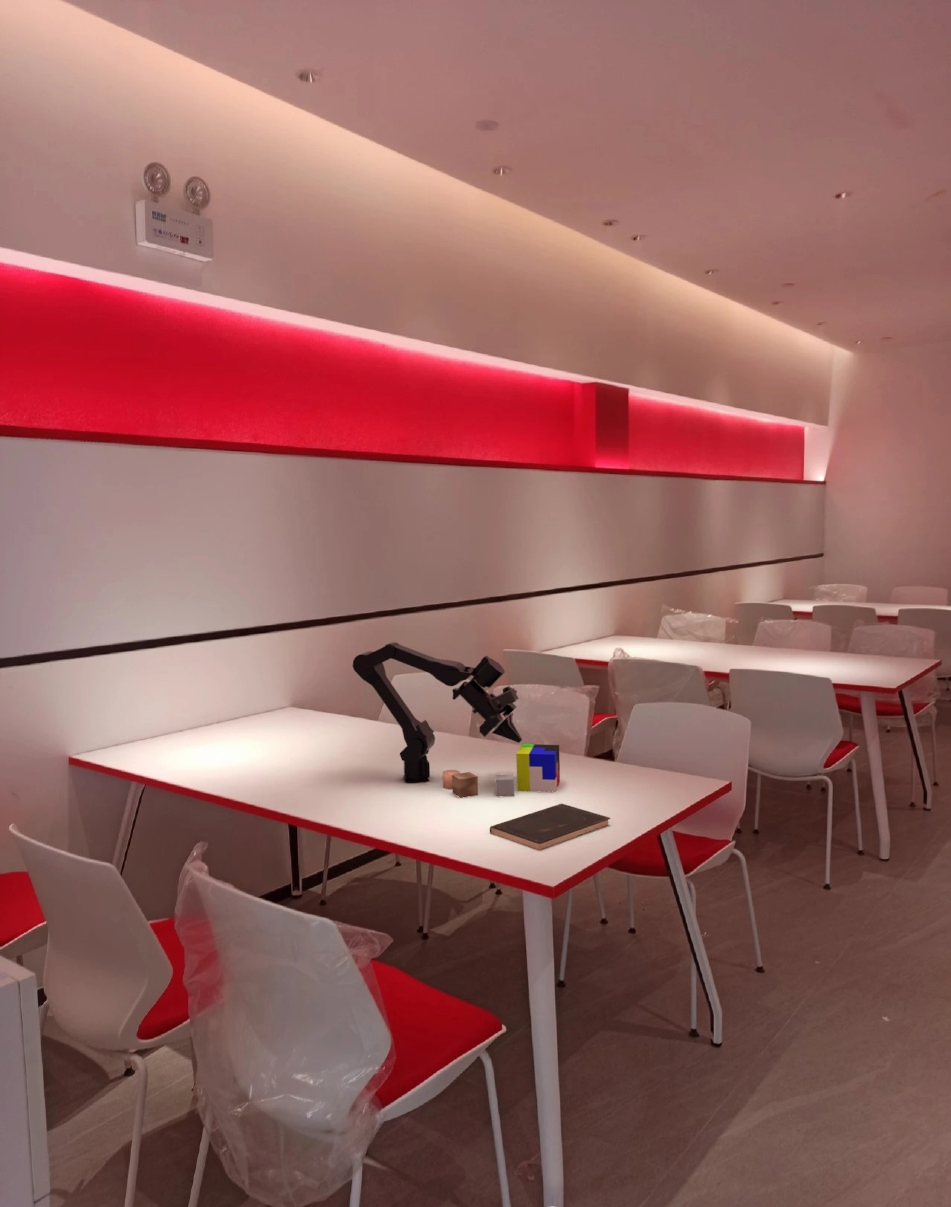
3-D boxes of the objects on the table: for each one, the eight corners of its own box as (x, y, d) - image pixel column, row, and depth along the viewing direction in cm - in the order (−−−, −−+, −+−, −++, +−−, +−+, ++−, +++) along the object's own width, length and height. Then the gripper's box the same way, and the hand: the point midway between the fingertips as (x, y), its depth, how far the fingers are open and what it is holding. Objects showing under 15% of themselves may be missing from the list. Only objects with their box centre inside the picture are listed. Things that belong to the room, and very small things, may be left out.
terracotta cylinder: (444, 789, 249) (444, 775, 249) (442, 785, 253) (441, 770, 253) (461, 788, 250) (460, 773, 249) (458, 784, 254) (458, 769, 254)
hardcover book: (610, 827, 218) (610, 817, 217) (539, 853, 202) (539, 842, 202) (559, 812, 230) (559, 802, 229) (489, 835, 214) (489, 825, 214)
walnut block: (460, 798, 241) (459, 779, 241) (452, 793, 246) (451, 774, 245) (478, 795, 243) (477, 776, 243) (470, 790, 248) (469, 771, 248)
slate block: (496, 797, 242) (496, 779, 241) (496, 791, 246) (495, 775, 246) (514, 796, 242) (513, 779, 241) (513, 791, 246) (513, 774, 246)
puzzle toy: (555, 792, 244) (554, 754, 243) (517, 791, 246) (516, 753, 245) (559, 781, 254) (559, 745, 253) (523, 780, 256) (522, 744, 255)
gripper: (489, 685, 241) (533, 728, 239) (507, 672, 259) (548, 713, 257) (461, 714, 244) (504, 758, 242) (481, 700, 262) (521, 740, 260)
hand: (520, 741), depth 250 cm, fingers closed
